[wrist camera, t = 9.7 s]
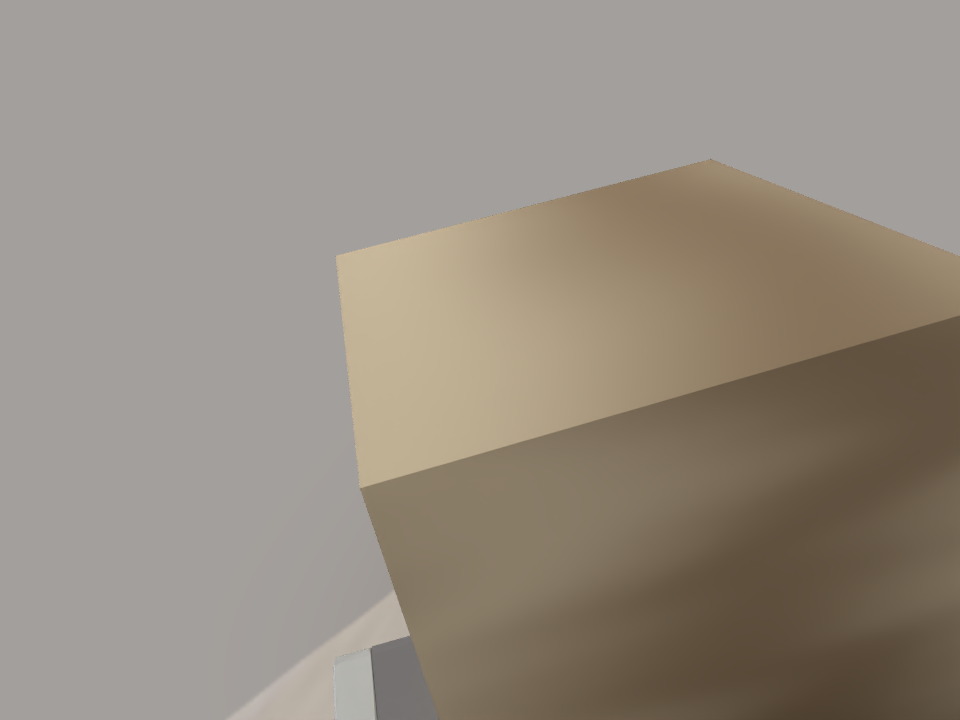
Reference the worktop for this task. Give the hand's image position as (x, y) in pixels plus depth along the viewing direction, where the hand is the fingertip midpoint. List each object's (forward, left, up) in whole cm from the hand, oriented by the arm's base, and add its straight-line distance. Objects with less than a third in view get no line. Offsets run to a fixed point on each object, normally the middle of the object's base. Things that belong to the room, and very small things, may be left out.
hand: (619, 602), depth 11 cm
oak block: (0, -1, -6) cm, 7 cm away
